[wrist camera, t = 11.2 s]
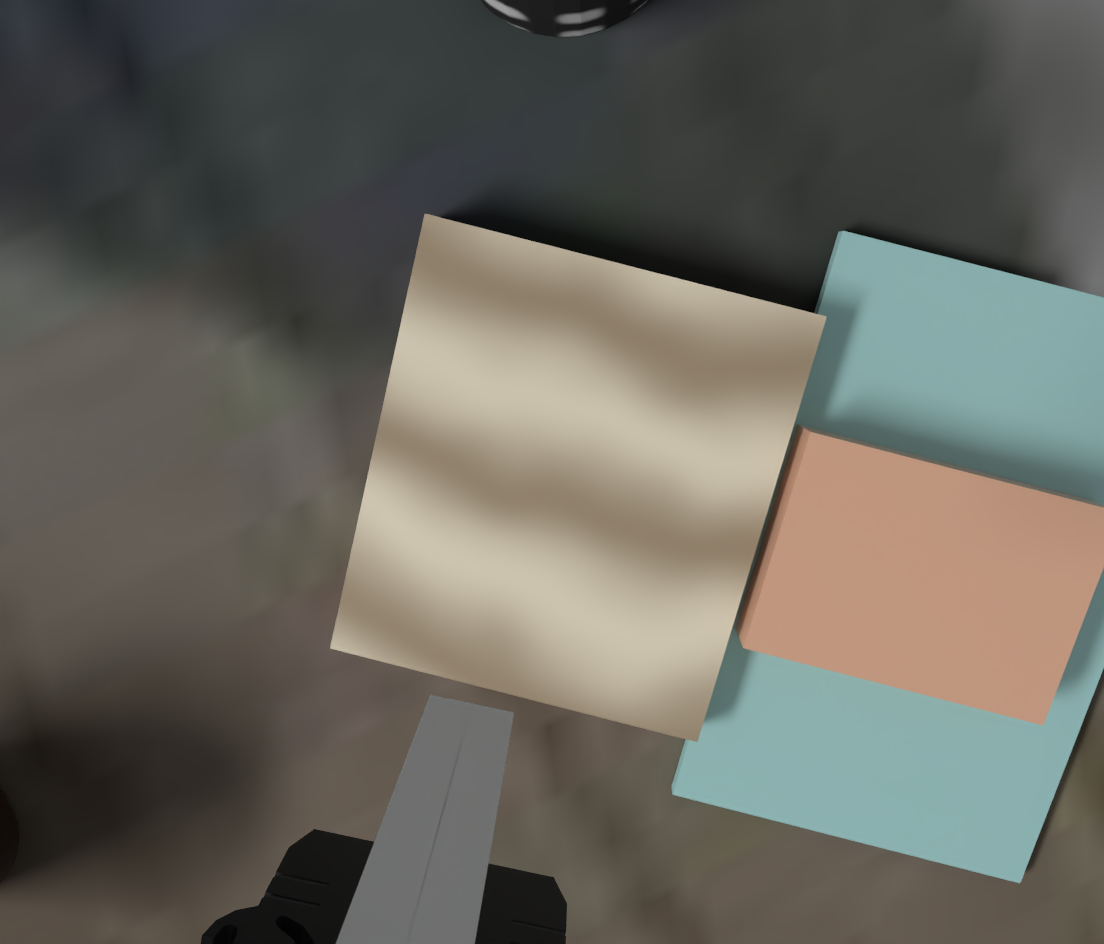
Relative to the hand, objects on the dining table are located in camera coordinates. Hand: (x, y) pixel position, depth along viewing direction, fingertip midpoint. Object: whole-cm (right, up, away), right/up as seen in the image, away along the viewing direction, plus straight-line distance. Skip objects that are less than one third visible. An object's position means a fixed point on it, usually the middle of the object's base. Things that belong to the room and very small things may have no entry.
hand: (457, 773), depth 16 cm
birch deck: (+2, +5, +19) cm, 19 cm away
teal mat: (+16, +2, +19) cm, 24 cm away
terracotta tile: (+15, +2, +18) cm, 23 cm away
